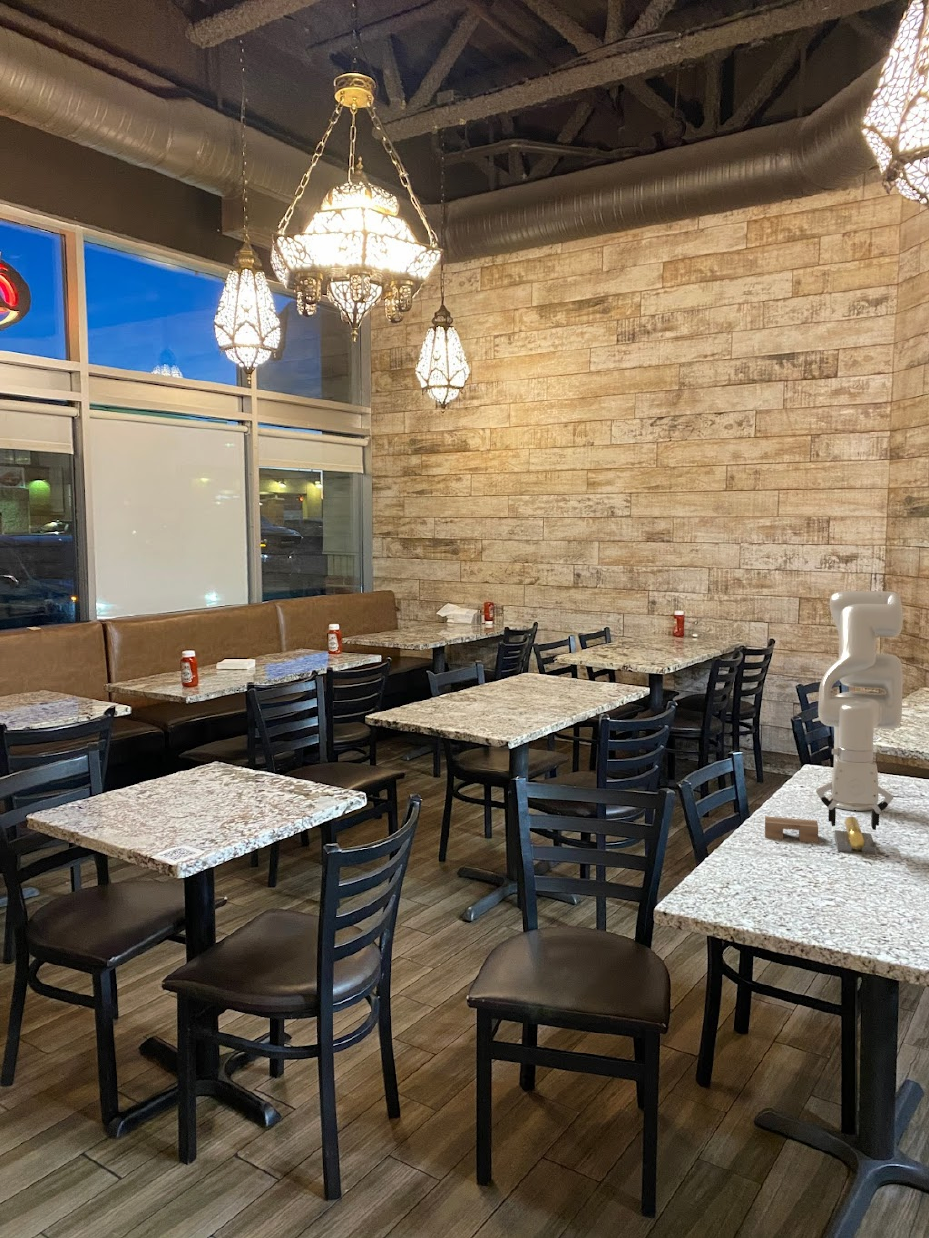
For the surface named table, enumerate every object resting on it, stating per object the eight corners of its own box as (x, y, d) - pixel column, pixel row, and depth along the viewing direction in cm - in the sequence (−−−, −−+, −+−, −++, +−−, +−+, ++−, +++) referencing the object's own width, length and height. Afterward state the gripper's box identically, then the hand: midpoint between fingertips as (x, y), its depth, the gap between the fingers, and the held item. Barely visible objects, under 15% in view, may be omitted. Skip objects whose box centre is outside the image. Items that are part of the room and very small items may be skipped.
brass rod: (844, 828, 215) (844, 816, 215) (858, 828, 214) (858, 817, 214) (850, 848, 202) (850, 836, 202) (864, 849, 201) (864, 837, 201)
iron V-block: (834, 842, 213) (834, 830, 213) (870, 845, 211) (870, 833, 211) (837, 856, 204) (838, 843, 204) (875, 859, 201) (875, 847, 201)
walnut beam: (764, 835, 219) (765, 816, 218) (816, 840, 215) (817, 820, 214) (764, 842, 214) (765, 822, 213) (817, 847, 210) (818, 826, 210)
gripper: (817, 756, 208) (815, 827, 210) (898, 761, 203) (895, 834, 204) (815, 749, 215) (813, 818, 217) (893, 754, 210) (890, 824, 211)
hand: (853, 826), depth 210 cm, fingers open, 8 cm apart
